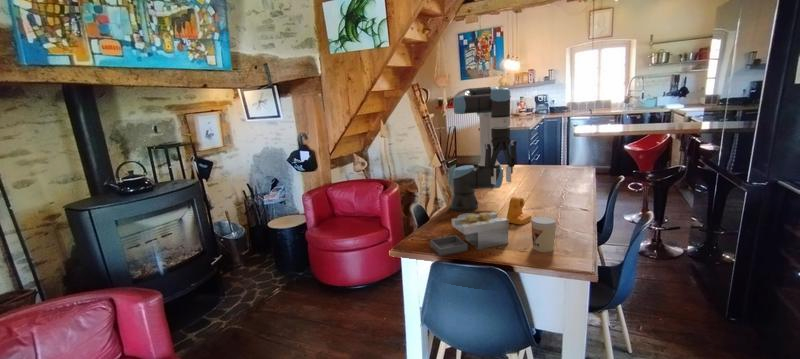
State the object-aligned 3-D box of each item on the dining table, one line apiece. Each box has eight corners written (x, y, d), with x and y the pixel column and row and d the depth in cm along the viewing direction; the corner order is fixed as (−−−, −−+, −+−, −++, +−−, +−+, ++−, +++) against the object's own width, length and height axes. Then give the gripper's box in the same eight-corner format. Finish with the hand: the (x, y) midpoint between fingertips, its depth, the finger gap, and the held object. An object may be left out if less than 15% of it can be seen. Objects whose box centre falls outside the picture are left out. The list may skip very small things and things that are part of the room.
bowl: (467, 235, 168) (467, 222, 167) (452, 228, 178) (452, 216, 177) (487, 230, 173) (487, 217, 172) (471, 223, 183) (471, 211, 182)
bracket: (520, 226, 176) (520, 201, 173) (506, 223, 181) (506, 199, 179) (532, 220, 183) (532, 196, 180) (518, 217, 188) (518, 194, 185)
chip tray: (430, 246, 160) (430, 239, 159) (456, 241, 163) (455, 235, 162) (440, 256, 149) (440, 249, 149) (467, 251, 152) (467, 244, 152)
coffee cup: (526, 245, 154) (527, 217, 152) (548, 242, 155) (549, 215, 152) (536, 254, 145) (537, 224, 143) (560, 251, 146) (561, 222, 143)
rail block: (452, 241, 163) (451, 218, 161) (493, 234, 168) (493, 211, 166) (464, 252, 152) (464, 227, 149) (508, 243, 157) (508, 219, 155)
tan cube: (479, 221, 160) (478, 213, 159) (486, 219, 161) (486, 212, 160) (483, 223, 157) (482, 215, 156) (490, 222, 157) (490, 214, 157)
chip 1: (466, 223, 158) (466, 215, 157) (473, 222, 159) (473, 214, 158) (470, 225, 155) (469, 217, 154) (477, 224, 156) (477, 216, 155)
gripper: (483, 130, 146) (484, 187, 151) (526, 126, 151) (526, 181, 156) (474, 129, 153) (476, 183, 158) (516, 125, 158) (516, 178, 163)
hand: (501, 182), depth 157 cm, fingers open, 6 cm apart
